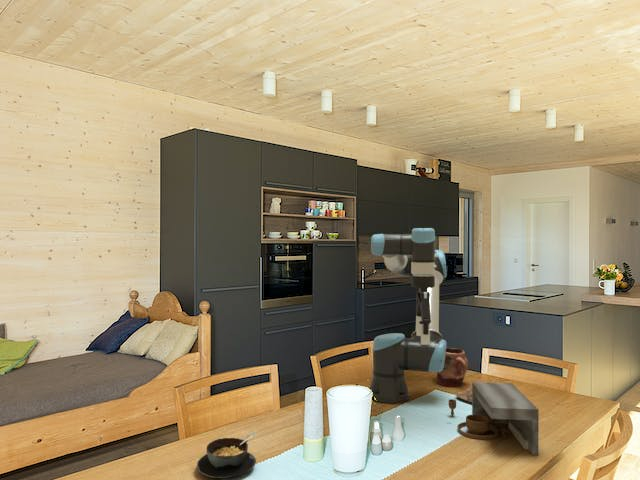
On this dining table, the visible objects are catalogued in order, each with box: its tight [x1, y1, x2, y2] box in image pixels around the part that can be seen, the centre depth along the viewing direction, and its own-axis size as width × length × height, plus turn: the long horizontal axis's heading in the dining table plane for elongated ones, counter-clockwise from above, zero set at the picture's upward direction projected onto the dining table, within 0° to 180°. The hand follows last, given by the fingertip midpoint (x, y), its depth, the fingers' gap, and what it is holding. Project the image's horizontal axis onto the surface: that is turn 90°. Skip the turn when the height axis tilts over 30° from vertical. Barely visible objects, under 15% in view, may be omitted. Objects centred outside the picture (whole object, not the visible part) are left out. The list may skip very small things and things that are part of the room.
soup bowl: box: [196, 430, 259, 479], centre depth 130 cm, size 15×16×7 cm
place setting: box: [447, 398, 507, 440], centre depth 158 cm, size 18×20×6 cm
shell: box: [455, 388, 472, 405], centre depth 184 cm, size 12×13×4 cm
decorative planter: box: [436, 347, 470, 387], centre depth 205 cm, size 20×12×14 cm, turn 20°
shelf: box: [471, 381, 540, 457], centre depth 150 cm, size 12×26×12 cm, turn 174°
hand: (422, 340), depth 166 cm, fingers open, 13 cm apart
